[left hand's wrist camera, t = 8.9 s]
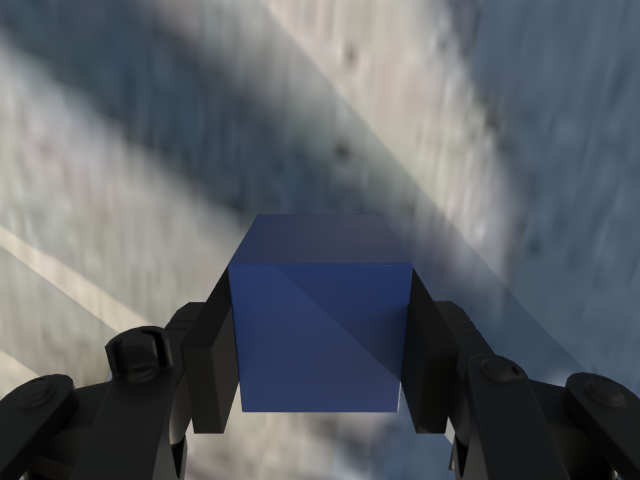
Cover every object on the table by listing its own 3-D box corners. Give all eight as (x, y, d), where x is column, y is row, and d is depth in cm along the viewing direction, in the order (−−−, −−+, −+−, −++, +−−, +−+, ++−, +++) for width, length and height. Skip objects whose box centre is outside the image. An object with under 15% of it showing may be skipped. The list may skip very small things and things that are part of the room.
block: (382, 214, 14) (413, 264, 9) (375, 325, 16) (398, 412, 11) (257, 214, 14) (227, 264, 9) (264, 325, 16) (241, 412, 11)
